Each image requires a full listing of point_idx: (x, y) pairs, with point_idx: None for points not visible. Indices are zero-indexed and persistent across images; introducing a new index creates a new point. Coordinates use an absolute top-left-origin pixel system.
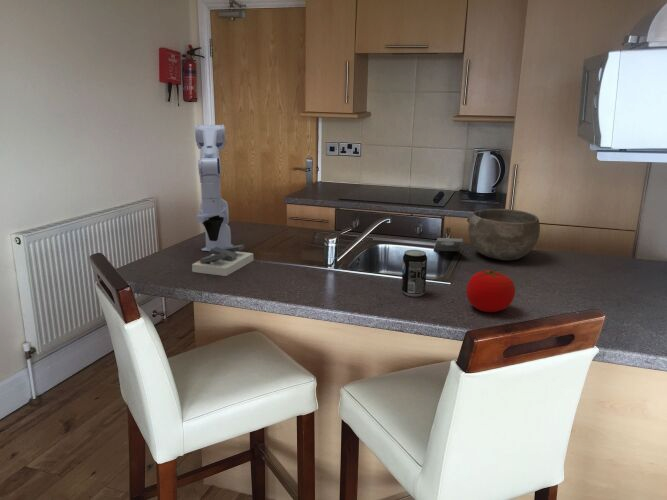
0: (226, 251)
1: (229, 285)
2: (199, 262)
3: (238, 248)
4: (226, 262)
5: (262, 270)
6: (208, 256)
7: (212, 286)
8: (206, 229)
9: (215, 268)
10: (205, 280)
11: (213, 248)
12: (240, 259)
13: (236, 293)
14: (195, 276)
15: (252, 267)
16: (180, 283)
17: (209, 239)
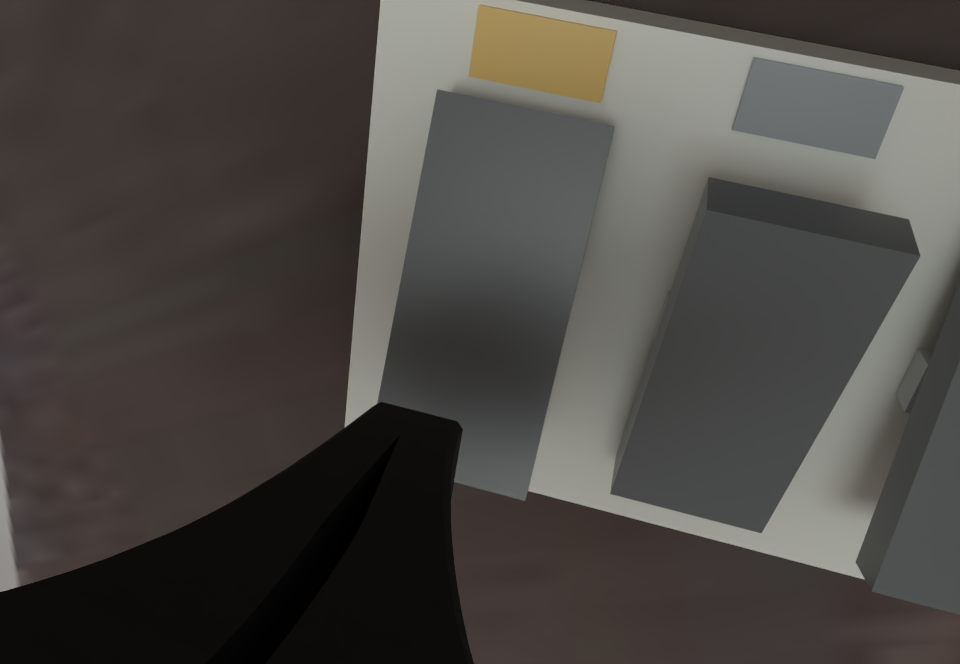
0: (767, 418)
1: (164, 467)
2: (470, 64)
3: (869, 571)
4: (557, 403)
5: (612, 648)
6: (575, 187)
7: (88, 348)
8: (196, 532)
9: (357, 321)
10: (198, 239)
11: (788, 238)
12: (711, 524)
13: (44, 538)
14: (274, 83)
15: (701, 568)
16: (20, 12)
17: (367, 411)
